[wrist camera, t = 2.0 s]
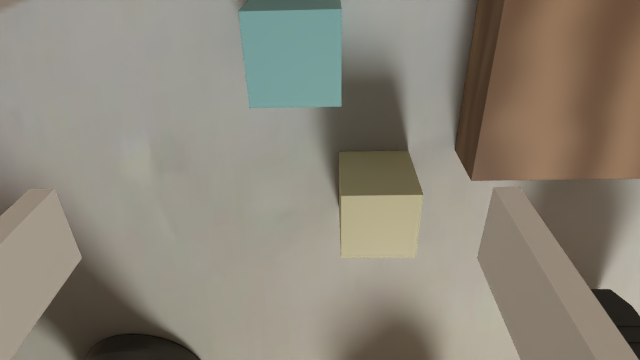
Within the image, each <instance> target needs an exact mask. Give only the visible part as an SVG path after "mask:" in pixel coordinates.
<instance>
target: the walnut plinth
mask: <svg viewBox="0 0 640 360" xmlns="http://www.w3.org/2000/svg"><path fill="white" fill-rule="evenodd" d="M455 151H456V153H457V155H458V157H459V159H460V161H461V162H462V164H463V166H464V168H465V170H466V172H467V174H468V176H469V177H470V179H471V181H484V180H560V179H637V178H640V0H478V5H477V12H476V18H475V25H474V31H473V38H472V44H471V50H470V57H469V63H468V70H467V76H466V83H465V89H464V95H463V102H462V108H461V115H460V121H459V128H458V134H457V140H456V147H455Z"/></svg>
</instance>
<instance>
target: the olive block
mask: <svg viewBox="0 0 640 360" xmlns="http://www.w3.org/2000/svg"><path fill="white" fill-rule="evenodd" d="M422 202H423V192H422V189H421V187H420V184H419V181H418V178H417V175H416V172H415V169H414V166H413V163H412V160H411V157H410V154H409V151H348V152H339V217H340V243H341V258H385V257H416V252H417V243H418V235H419V227H420V219H421V210H422Z"/></svg>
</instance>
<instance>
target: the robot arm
mask: <svg viewBox="0 0 640 360" xmlns="http://www.w3.org/2000/svg"><path fill="white" fill-rule="evenodd" d="M81 259H82V257H81V254H80V252H79V249H78V247H77V244H76V242H75V239H74V237H73V234H72V232H71V229H70V226H69V224H68V221H67V219H66V216H65V214H64V211H63V209H62V206H61V204H60V201H59V199H58V196H57V194H56V191H55V189H29V190H28V191H27V192H26V193H24V194H23V195H22V196H21V197H20V198H19V199H18V200H17V201H16V202H15V203H14V204H13V205H12V206H11V207H9V208H8V209H7V210H6V211H5V212H4V213H3V214H2V215H1V216H0V360H10V359H11V358H12V356H13V355H14V354H15V352H16V351H17V349H18V348H19V347H20V345H21V344H22V342H23V341H24V339H25V338H26V337H27V335H28V334H29V332H30V331H31V330H32V328H33V327H34V325H35V324H36V322H37V321H38V320H39V318H40V317H41V315H42V314H43V313H44V311H45V310H46V308H47V307H48V305H49V304H50V303H51V301H52V300H53V298H54V297H55V296H56V294H57V293H58V291H59V290H60V288H61V287H62V286H63V284H64V283H65V281H66V280H67V279H68V277H69V276H70V274H71V273H72V271H73V270H74V269H75V267H76V266H77V264H78V263H79V262H80V260H81ZM477 259H478V261H479V263H480V266H481V268H482V270H483V273H484V275H485V277H486V280H487V282H488V284H489V287H490V289H491V291H492V294H493V296H494V298H495V301H496V303H497V305H498V308H499V310H500V312H501V315H502V317H503V319H504V322H505V324H506V326H507V329H508V331H509V333H510V336H511V338H512V340H513V343H514V345H515V347H516V350H517V352H518V354H519V357H520V359H521V360H640V316H639V315H638V313H637V312H636V311H635V309H634V308H633V307H632V306H631V305H630V304H629V303H627V302H626V301H625V300H623V299H622V298H621V297H619V296H618V295H617V294H616V293H614V292H613V291H612V290H610V289H590V288H589V287H588V285H587V284H586V282H585V281H584V279H583V278H582V277H581V275H580V274H579V272H578V271H577V269H576V268H575V266H574V265H573V264H572V262H571V261H570V259H569V258H568V256H567V255H566V253H565V252H564V251H563V249H562V248H561V246H560V245H559V243H558V242H557V240H556V239H555V237H554V236H553V235H552V233H551V232H550V230H549V229H548V227H547V226H546V224H545V223H544V222H543V220H542V219H541V217H540V216H539V214H538V213H537V211H536V210H535V208H534V207H533V206H532V204H531V203H530V201H529V200H528V198H527V197H526V195H525V194H524V193H523V191H522V190H521V188H520V187H494V188H493V192H492V196H491V201H490V205H489V209H488V213H487V218H486V222H485V226H484V231H483V235H482V239H481V244H480V248H479V252H478V257H477ZM85 360H199V359H198V358H197V357H196V356H194V355H193V354H192V353H191V352H189V351H188V350H186V349H185V348H183V347H181V346H179V345H177V344H175V343H173V342H170V341H167V340H164V339H161V338H157V337H153V336H147V335H120V336H115V337H111V338H108V339H105V340H103V341H101V342H99V343H97V344H96V345H95V346H94V347H92V348H91V350H90V351H89V352H88V354H87V356H86V358H85Z"/></svg>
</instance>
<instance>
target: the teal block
mask: <svg viewBox="0 0 640 360" xmlns="http://www.w3.org/2000/svg"><path fill="white" fill-rule="evenodd" d="M238 13H239V21H240V30H241V38H242V47H243V56H244V64H245V73H246V81H247V90H248V99H249V107H250V108H286V107H341V40H342V9H341V2H340V0H248V1H247V2H246V3H245V5H244V6H243V7H242V8H241V9H240V10H239V11H238Z"/></svg>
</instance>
